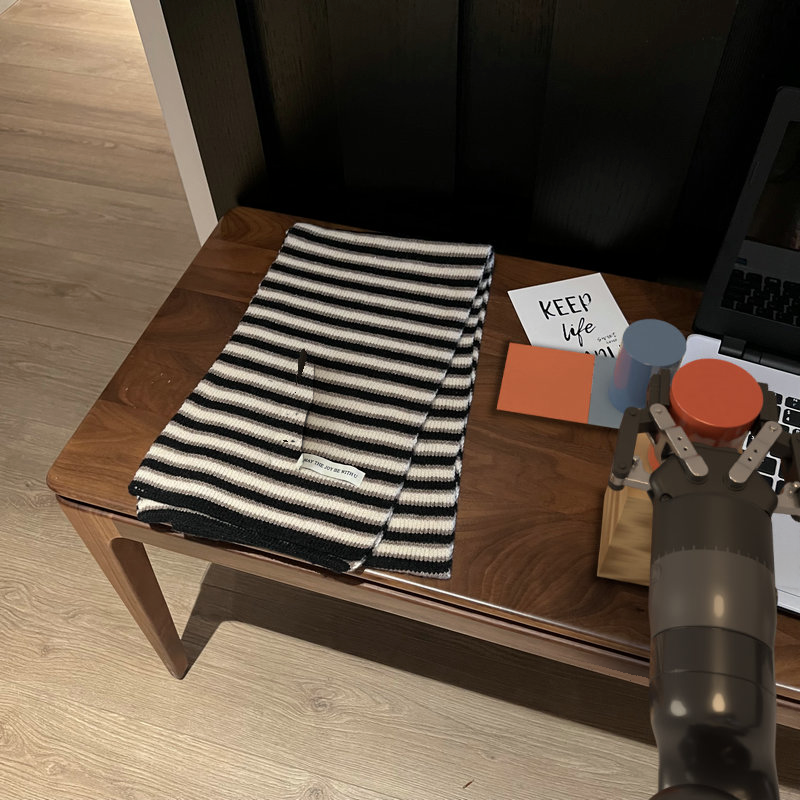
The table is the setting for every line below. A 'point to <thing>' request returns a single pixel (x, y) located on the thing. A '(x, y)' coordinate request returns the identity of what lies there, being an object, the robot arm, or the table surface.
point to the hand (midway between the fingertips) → (710, 382)
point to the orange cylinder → (713, 403)
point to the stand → (628, 529)
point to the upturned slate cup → (644, 360)
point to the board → (558, 385)
